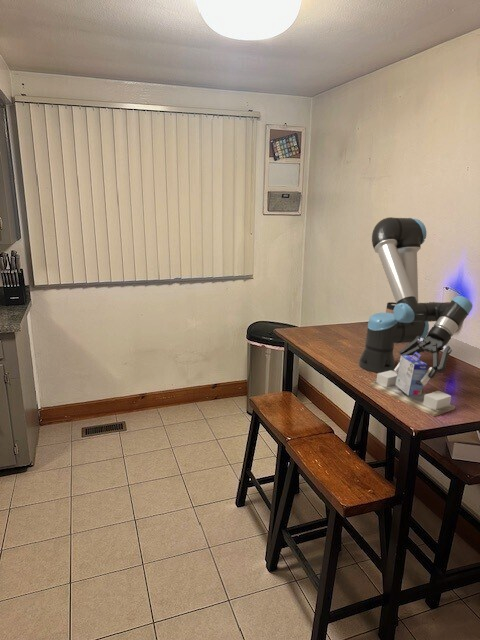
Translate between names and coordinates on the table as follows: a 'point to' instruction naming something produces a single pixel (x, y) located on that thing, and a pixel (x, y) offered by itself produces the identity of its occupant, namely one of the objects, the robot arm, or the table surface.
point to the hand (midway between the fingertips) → (408, 377)
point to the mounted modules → (431, 399)
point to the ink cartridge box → (411, 374)
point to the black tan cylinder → (390, 307)
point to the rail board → (411, 399)
